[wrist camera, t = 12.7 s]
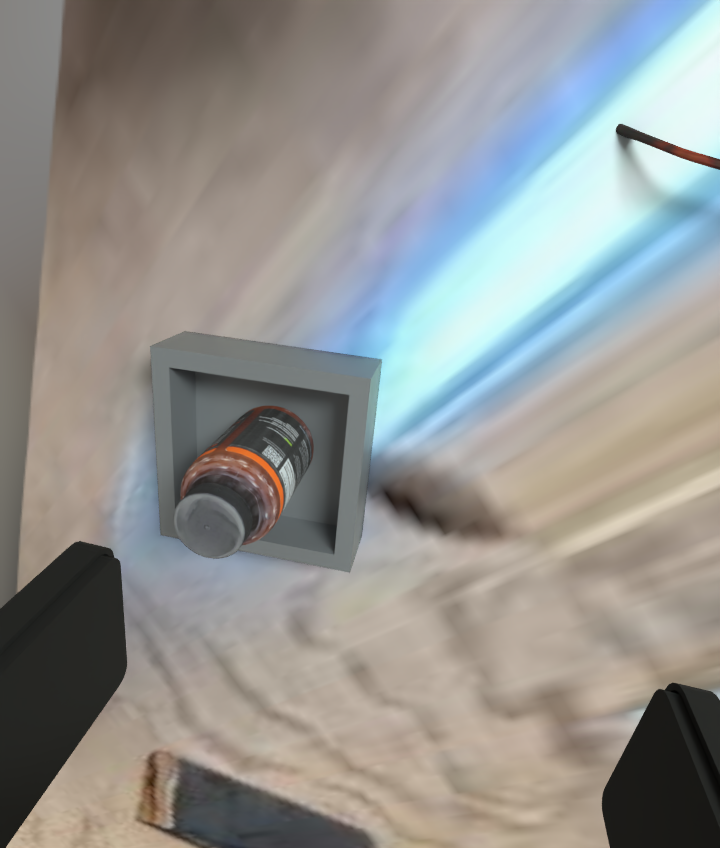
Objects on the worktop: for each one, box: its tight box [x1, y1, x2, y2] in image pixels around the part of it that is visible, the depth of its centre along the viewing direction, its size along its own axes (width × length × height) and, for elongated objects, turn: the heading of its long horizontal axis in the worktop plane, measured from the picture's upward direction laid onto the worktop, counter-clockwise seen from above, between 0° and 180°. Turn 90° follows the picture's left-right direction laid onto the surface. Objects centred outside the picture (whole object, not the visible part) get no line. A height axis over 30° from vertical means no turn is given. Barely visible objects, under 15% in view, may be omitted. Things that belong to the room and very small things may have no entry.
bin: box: [150, 331, 382, 572], centre depth 37 cm, size 14×14×4 cm
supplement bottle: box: [173, 406, 314, 558], centre depth 33 cm, size 6×6×11 cm
